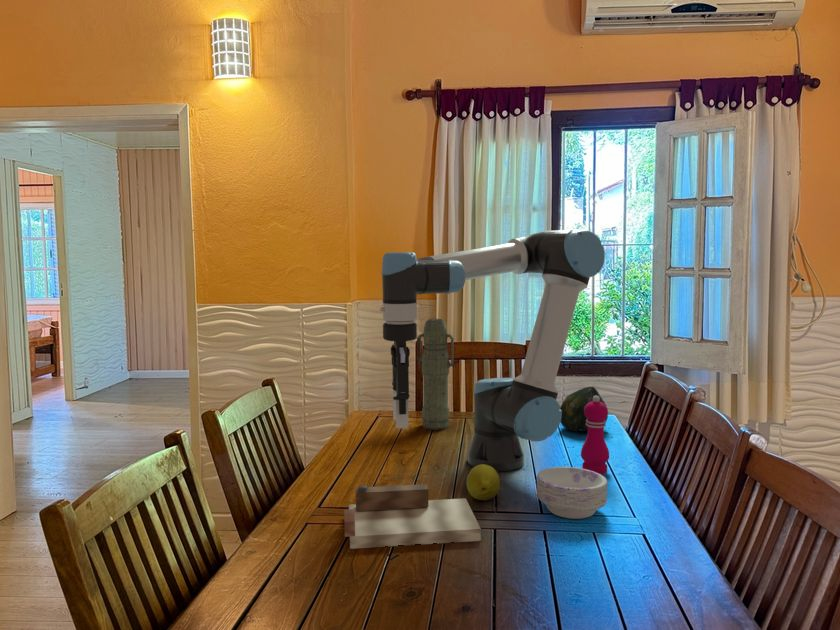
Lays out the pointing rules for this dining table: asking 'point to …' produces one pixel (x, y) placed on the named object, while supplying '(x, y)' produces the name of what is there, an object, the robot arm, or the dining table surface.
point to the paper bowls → (571, 491)
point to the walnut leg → (391, 497)
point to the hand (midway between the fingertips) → (400, 423)
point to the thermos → (435, 373)
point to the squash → (577, 409)
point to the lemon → (483, 482)
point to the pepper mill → (595, 437)
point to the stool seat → (412, 525)
